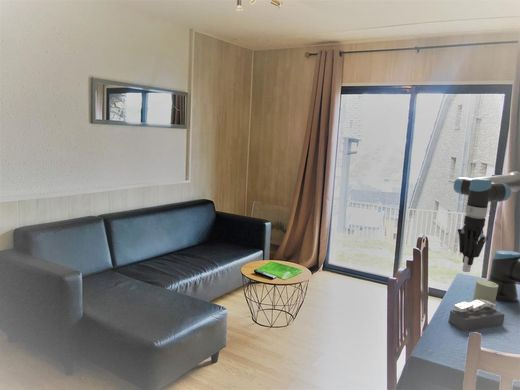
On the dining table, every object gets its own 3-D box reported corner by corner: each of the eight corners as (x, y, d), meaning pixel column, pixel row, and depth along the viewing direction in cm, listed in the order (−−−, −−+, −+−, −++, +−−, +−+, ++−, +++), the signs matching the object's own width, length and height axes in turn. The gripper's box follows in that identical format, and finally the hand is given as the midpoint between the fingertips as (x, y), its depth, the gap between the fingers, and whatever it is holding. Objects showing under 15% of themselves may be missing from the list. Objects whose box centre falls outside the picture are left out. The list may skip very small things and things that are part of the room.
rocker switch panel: (486, 316, 182) (488, 303, 181) (502, 325, 175) (505, 311, 174) (448, 321, 174) (450, 308, 173) (464, 331, 167) (466, 317, 166)
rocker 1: (464, 304, 175) (464, 300, 175) (473, 309, 171) (473, 305, 171) (453, 308, 173) (453, 304, 173) (462, 312, 169) (462, 309, 169)
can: (496, 312, 188) (501, 287, 186) (475, 309, 190) (479, 284, 188) (490, 304, 197) (494, 280, 195) (469, 300, 199) (473, 277, 196)
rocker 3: (487, 304, 181) (488, 300, 181) (496, 309, 177) (497, 305, 177) (478, 302, 178) (479, 298, 178) (486, 306, 174) (488, 303, 174)
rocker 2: (476, 302, 178) (476, 299, 177) (485, 307, 174) (485, 303, 173) (466, 307, 176) (466, 303, 176) (474, 311, 172) (474, 308, 172)
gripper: (455, 212, 172) (447, 266, 177) (482, 220, 160) (472, 278, 165) (468, 212, 175) (459, 265, 179) (496, 220, 163) (486, 276, 168)
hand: (466, 271), depth 172 cm, fingers closed
